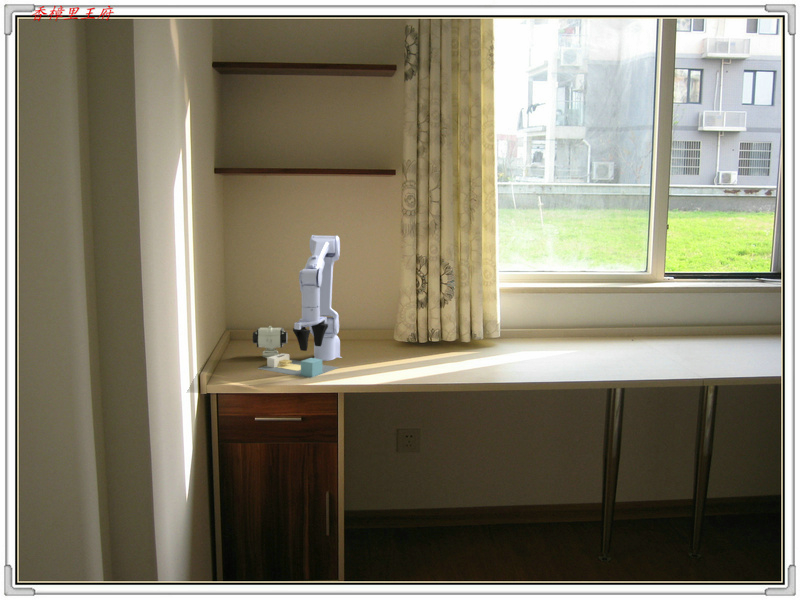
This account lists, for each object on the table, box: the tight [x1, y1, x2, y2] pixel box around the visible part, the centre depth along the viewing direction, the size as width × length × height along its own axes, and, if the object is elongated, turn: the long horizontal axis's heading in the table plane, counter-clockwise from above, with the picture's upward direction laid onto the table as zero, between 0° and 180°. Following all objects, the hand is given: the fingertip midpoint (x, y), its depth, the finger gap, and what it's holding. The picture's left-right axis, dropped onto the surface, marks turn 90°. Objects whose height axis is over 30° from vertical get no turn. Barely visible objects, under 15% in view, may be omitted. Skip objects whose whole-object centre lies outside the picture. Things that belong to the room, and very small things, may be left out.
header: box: [266, 352, 292, 368], centre depth 235 cm, size 8×6×3 cm
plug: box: [300, 357, 323, 378], centre depth 224 cm, size 5×5×5 cm
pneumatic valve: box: [252, 325, 289, 359], centre depth 246 cm, size 6×12×12 cm, turn 93°
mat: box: [257, 358, 340, 379], centre depth 232 cm, size 16×22×1 cm
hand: (310, 348), depth 223 cm, fingers open, 7 cm apart
